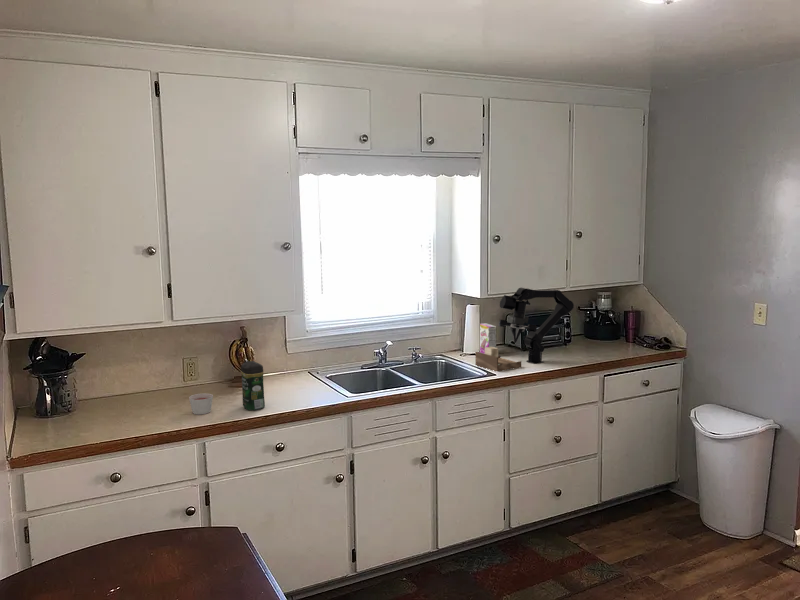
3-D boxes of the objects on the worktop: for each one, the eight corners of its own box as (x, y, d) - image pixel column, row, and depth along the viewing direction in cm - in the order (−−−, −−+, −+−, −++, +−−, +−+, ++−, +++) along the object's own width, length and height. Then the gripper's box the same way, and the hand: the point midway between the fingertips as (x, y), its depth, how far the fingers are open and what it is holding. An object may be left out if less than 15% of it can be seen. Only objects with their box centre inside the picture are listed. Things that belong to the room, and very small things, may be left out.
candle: (218, 411, 258) (217, 395, 257) (199, 417, 250) (199, 401, 249) (203, 407, 263) (202, 392, 262) (184, 413, 255) (184, 397, 255)
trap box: (499, 361, 340) (499, 348, 339) (521, 367, 326) (521, 353, 326) (475, 365, 331) (475, 351, 330) (496, 371, 318) (496, 357, 317)
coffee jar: (240, 406, 264) (238, 361, 262) (259, 403, 268) (257, 358, 266) (247, 412, 256) (245, 365, 253) (267, 409, 260) (265, 363, 257)
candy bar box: (478, 353, 360) (478, 323, 358) (486, 352, 362) (486, 323, 360) (488, 357, 350) (488, 326, 348) (496, 356, 352) (497, 326, 350)
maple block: (491, 362, 329) (491, 346, 328) (498, 364, 325) (498, 348, 324) (484, 363, 327) (484, 347, 326) (491, 365, 322) (491, 349, 321)
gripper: (501, 306, 324) (497, 337, 321) (539, 312, 321) (535, 343, 319) (500, 310, 334) (496, 340, 332) (537, 316, 332) (533, 346, 330)
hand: (515, 342), depth 328 cm, fingers closed
